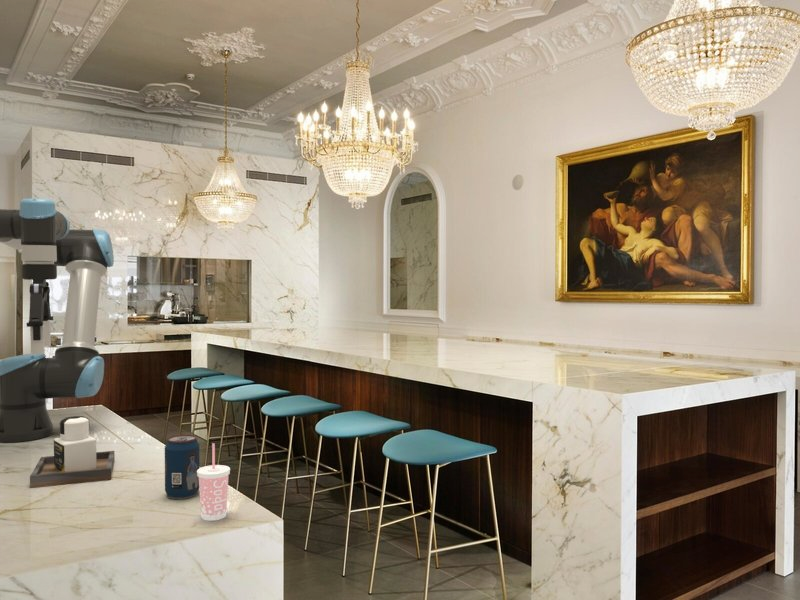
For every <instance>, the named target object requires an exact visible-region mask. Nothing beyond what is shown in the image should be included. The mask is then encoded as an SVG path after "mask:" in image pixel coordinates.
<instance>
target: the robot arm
mask: <svg viewBox="0 0 800 600" xmlns="http://www.w3.org/2000/svg"><path fill="white" fill-rule="evenodd" d="M0 243H1V244H3V245H6V246H8V247H11V248H13V249H14V250H17V252H18V253H19V254H21V255H20V257H21V261H22V262H23V263H24V264H23V263H22V264H21V266H20V269H21V279H22V280H29V281H30V280H31V281H32V283H30V284H29V315H28V316H29V317H28V322H26V327H27V328H28V327H30V328H29V329H30V330H29V331H30V335H29V337H30V353H26V354H21V355H20V354H19V355H15V356H9V357H6V358H3V359H2V360H0V443H19V442H27V441H35V440H40V439H42V438H43V439H44V438H47V437H49V436H51V435H53V433H54V424H53V422H52V419H51V416H50V414H49V412H48V409H47V404H46V403H47V401H46V399H69V398H70V399H71V398H75V399H81V398H88V397H94V396H96V395H97V394H98V393H99V391H100V389H101V386H102V384H103V380H104V377H105V376H104V374H105V360H104V358H103V357H102V356H100V352H99V350H98V349H96V348H95V341H96V330H97V321H98V319H97V318H98V309H99V299H100V289H101V277H104V276H105V275H106V274H107V269H108V268H110V267H113V266H114V261H115V260H114V258H115V257H114V250H113V249H114V248H113V245H112V244H113V243H112V239H111V236H110V234H109V233H108V231H106V230H103V229H102V230H101V229H94V228H92V229H73V228H72V229H71V225H70V221H69V219H68V218H67V216H66V215H65V214H63V213H61V212H60V211H58V210H57V209H56V203H55V201H54V200H51V199H46V198H23V199H22V200H21V201H20V202H19V209H5V208H3V209H1V208H0ZM58 267H64V268H65V271H66V272H67V273H68V274H69V281H68V290H67V298H66V307H65V314H64V316H65V317H64V325H63V333H62V339H61V340H62V342H61V346H59V347H58V348H56V349H55V352H54V357H47V356H46V354H45V348H47V347H50V348H51V346H52V345H51V343H52V342H51V341H52V340H51V339H52V338H51V337H52V336H51V321H54V315H52V312H51V303H50V302H51V301H50V299H51V297H50V291H51V289H50V283H49V282H48V280H49V281H50V280H56V279H57V278H58Z"/></svg>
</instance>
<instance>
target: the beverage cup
mask: <svg viewBox="0 0 800 600" xmlns="http://www.w3.org/2000/svg"><path fill="white" fill-rule="evenodd" d="M211 444H212V445H211V448H212V449H211V453H212V455H211V456H212V458H211V459H212V460H211V463H212V464H211V465H205V466H202V467H200V468H199V469H198V470H197V476H198V477H199V490H198V491H199V500H200V513H201V514H200V516H201V519H202V520H204V521H218V520H222V519H225V517H227V510H228V508H227V507H228V490H229V475H230V474H231V467H229V466H228V465H224V464H223V465H222V464H216V445H215V444H216V443H213V442H212V443H211Z"/></svg>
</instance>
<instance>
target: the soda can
mask: <svg viewBox="0 0 800 600" xmlns="http://www.w3.org/2000/svg"><path fill="white" fill-rule="evenodd" d="M200 464H201V463H200V443H199V441H198V439H197V436H196V435H192V434H177V435H173V436H169V437H168V438H167V442H166V444H165V445H164V492H165V493H166V495H167V496H168V498H170V499H173V500H183V499H184V500H186V499H189V498H191V497H194V496H196V495H197V493H198V492H199V491H200V490H199V477H198V476H197V470H198V469H199V468H201V467H200Z"/></svg>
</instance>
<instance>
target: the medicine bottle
mask: <svg viewBox="0 0 800 600" xmlns="http://www.w3.org/2000/svg"><path fill="white" fill-rule="evenodd" d="M59 427H60V428H59V435H60V436H59V437H55V438H54V439H53V456H54V468H55V469H56V470H58V471H59V472H68V471H78V470H89V469H96V452H97V439H96V438H94V437H92V436H90V419H89V418H88V417H86V416H82V415H75V416H68V417H65V418H62V419H61V420H60V421H59Z"/></svg>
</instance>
